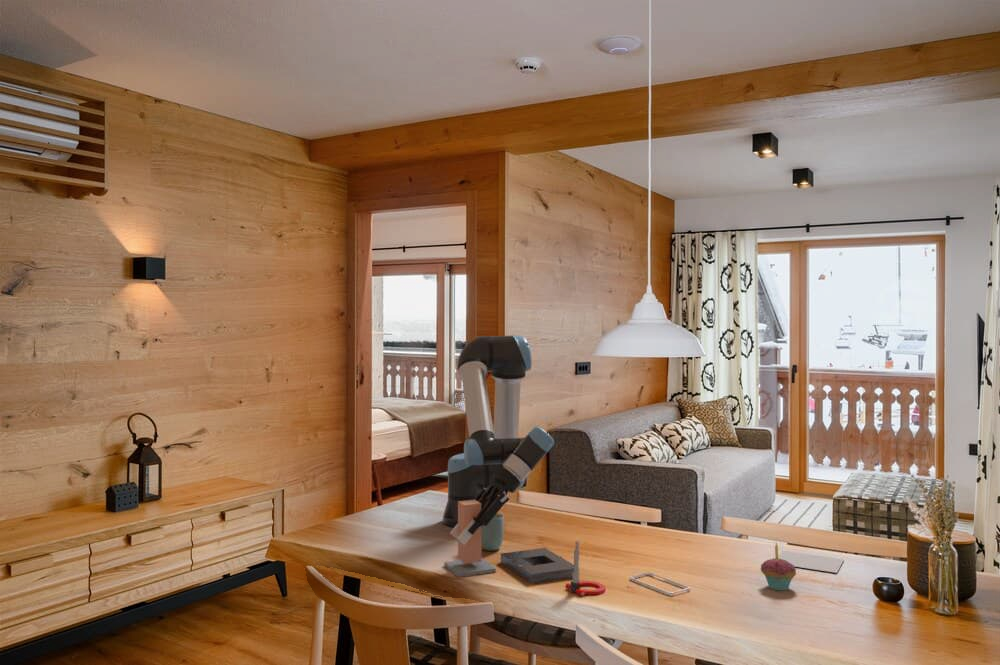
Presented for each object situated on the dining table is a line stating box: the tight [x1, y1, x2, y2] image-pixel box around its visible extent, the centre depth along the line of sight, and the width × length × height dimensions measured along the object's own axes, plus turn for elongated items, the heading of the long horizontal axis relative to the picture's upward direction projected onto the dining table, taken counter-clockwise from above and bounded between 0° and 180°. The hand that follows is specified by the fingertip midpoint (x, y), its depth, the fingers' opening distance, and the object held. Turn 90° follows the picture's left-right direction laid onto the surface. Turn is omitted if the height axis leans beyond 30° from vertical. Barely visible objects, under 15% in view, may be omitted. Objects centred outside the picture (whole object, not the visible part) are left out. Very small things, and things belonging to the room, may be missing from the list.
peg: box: [457, 500, 483, 564], centre depth 209 cm, size 5×5×16 cm
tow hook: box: [564, 540, 606, 597], centre depth 193 cm, size 8×13×9 cm
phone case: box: [629, 571, 691, 597], centre depth 196 cm, size 7×1×15 cm
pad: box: [443, 558, 497, 578], centre depth 209 cm, size 11×11×1 cm
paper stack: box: [778, 550, 845, 574], centre depth 216 cm, size 23×25×1 cm
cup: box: [481, 512, 505, 552], centre depth 228 cm, size 8×8×10 cm
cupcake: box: [760, 542, 797, 591], centre depth 194 cm, size 9×8×12 cm
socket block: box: [500, 547, 580, 584], centre depth 209 cm, size 20×14×2 cm
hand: (457, 538), depth 208 cm, fingers open, 5 cm apart
